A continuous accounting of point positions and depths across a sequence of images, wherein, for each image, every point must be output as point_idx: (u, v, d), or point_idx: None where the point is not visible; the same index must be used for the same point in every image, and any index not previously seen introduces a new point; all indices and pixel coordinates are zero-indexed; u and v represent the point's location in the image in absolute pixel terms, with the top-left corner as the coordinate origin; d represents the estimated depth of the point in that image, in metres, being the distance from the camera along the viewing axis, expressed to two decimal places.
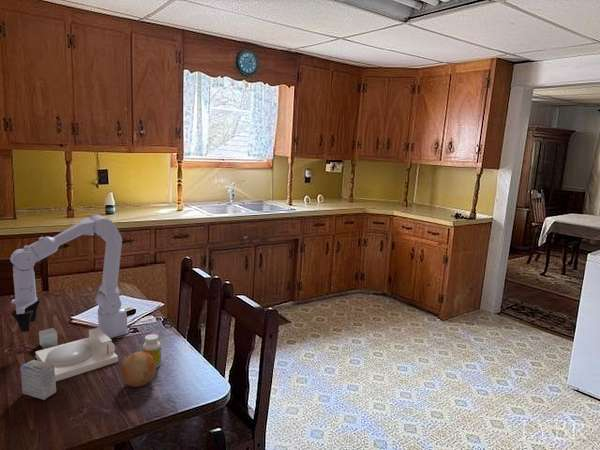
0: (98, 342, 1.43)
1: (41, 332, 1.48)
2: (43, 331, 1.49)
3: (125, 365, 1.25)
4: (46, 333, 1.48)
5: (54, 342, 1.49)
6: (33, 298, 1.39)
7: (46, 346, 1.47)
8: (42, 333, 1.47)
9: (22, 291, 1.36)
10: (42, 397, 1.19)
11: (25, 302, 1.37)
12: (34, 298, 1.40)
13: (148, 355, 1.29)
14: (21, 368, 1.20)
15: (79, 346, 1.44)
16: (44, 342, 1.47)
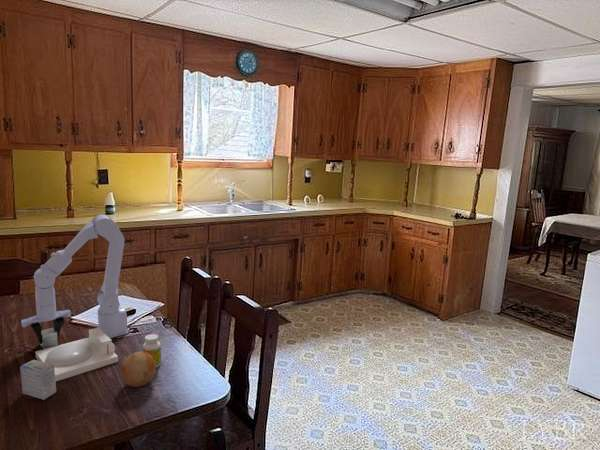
0: (98, 342, 1.43)
1: (41, 332, 1.48)
2: (43, 331, 1.49)
3: (125, 365, 1.25)
4: (46, 332, 1.48)
5: (54, 342, 1.49)
6: (43, 317, 1.45)
7: (46, 346, 1.47)
8: (42, 333, 1.47)
9: (36, 307, 1.45)
10: (42, 397, 1.19)
11: (37, 317, 1.45)
12: (45, 317, 1.45)
13: (148, 355, 1.29)
14: (21, 368, 1.20)
15: (79, 346, 1.44)
16: (44, 342, 1.47)
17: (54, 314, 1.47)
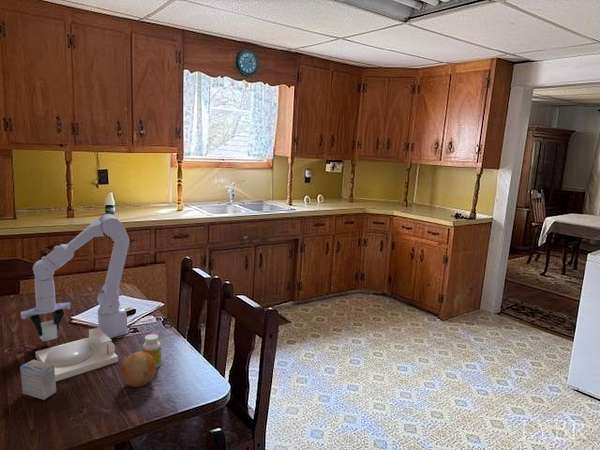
0: (98, 342, 1.43)
1: None
2: (43, 323, 1.48)
3: (125, 365, 1.25)
4: (46, 325, 1.47)
5: (53, 334, 1.48)
6: (43, 309, 1.44)
7: (46, 338, 1.47)
8: (42, 325, 1.47)
9: None
10: (42, 397, 1.19)
11: (37, 310, 1.45)
12: (44, 309, 1.44)
13: (148, 355, 1.29)
14: (21, 368, 1.20)
15: (79, 346, 1.44)
16: (44, 334, 1.46)
17: (54, 306, 1.47)
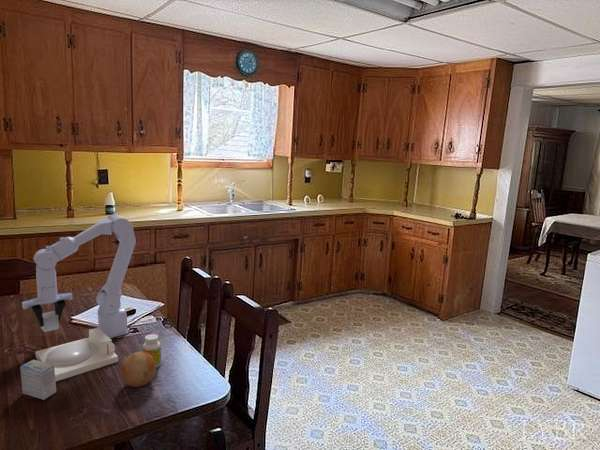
0: (98, 342, 1.43)
1: (42, 314, 1.46)
2: (44, 314, 1.46)
3: (125, 365, 1.25)
4: (47, 315, 1.45)
5: (55, 325, 1.46)
6: (44, 299, 1.42)
7: (47, 329, 1.45)
8: (43, 315, 1.45)
9: (37, 289, 1.42)
10: (42, 397, 1.19)
11: (38, 300, 1.43)
12: (46, 299, 1.43)
13: (148, 355, 1.29)
14: (21, 368, 1.20)
15: (79, 346, 1.44)
16: (45, 324, 1.44)
17: (55, 296, 1.45)
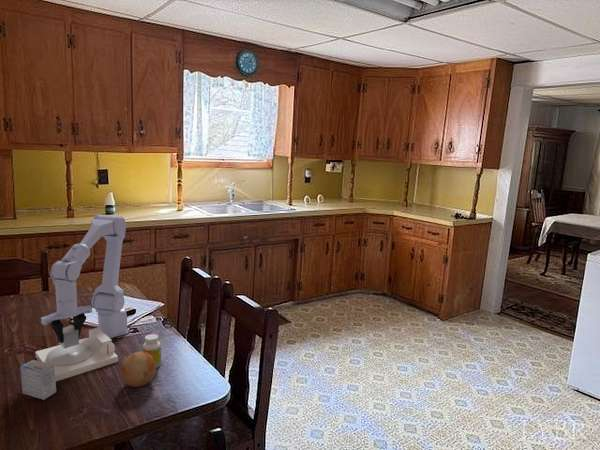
0: (98, 342, 1.43)
1: None
2: (63, 329, 1.38)
3: (125, 365, 1.25)
4: (67, 330, 1.37)
5: (75, 340, 1.38)
6: (65, 313, 1.34)
7: (67, 345, 1.36)
8: None
9: (57, 303, 1.34)
10: (42, 397, 1.19)
11: (58, 314, 1.34)
12: (67, 313, 1.34)
13: (148, 355, 1.29)
14: (21, 368, 1.20)
15: (79, 346, 1.44)
16: (65, 340, 1.36)
17: (76, 310, 1.37)
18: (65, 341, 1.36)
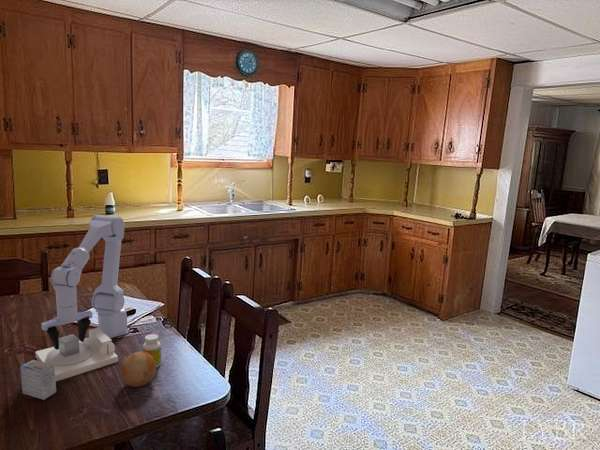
0: (98, 342, 1.43)
1: (61, 339, 1.38)
2: (63, 338, 1.38)
3: (125, 365, 1.25)
4: (67, 339, 1.38)
5: (76, 349, 1.39)
6: (66, 319, 1.34)
7: (68, 354, 1.37)
8: (63, 340, 1.37)
9: (57, 308, 1.34)
10: (42, 397, 1.19)
11: (58, 320, 1.34)
12: (67, 319, 1.34)
13: (148, 355, 1.29)
14: (21, 368, 1.20)
15: (79, 346, 1.44)
16: (66, 349, 1.36)
17: (76, 315, 1.37)
18: (66, 350, 1.36)
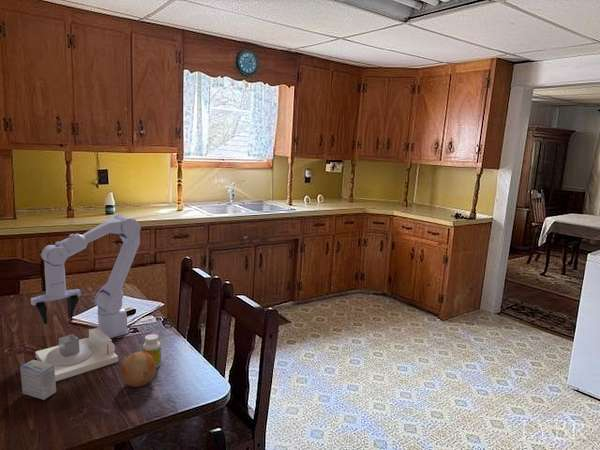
0: (98, 342, 1.43)
1: (61, 339, 1.38)
2: (63, 338, 1.38)
3: (125, 365, 1.25)
4: (67, 339, 1.38)
5: (76, 349, 1.39)
6: (53, 295, 1.41)
7: (68, 354, 1.37)
8: (63, 340, 1.37)
9: (46, 285, 1.41)
10: (42, 397, 1.19)
11: (47, 296, 1.41)
12: (55, 295, 1.41)
13: (148, 355, 1.29)
14: (21, 368, 1.20)
15: (79, 346, 1.44)
16: (66, 349, 1.36)
17: (64, 292, 1.43)
18: (66, 350, 1.36)
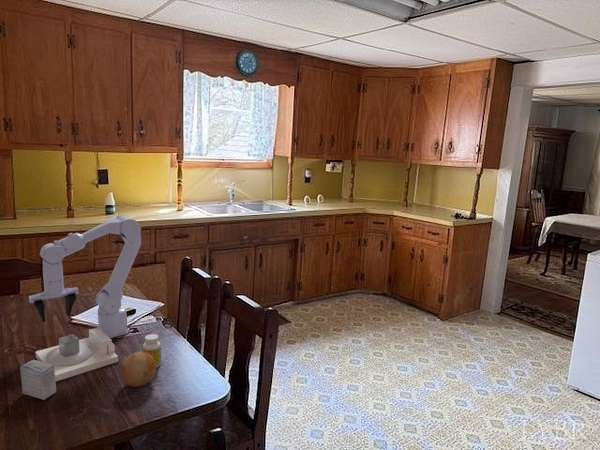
0: (98, 342, 1.43)
1: (61, 339, 1.38)
2: (63, 338, 1.38)
3: (125, 365, 1.25)
4: (67, 339, 1.38)
5: (76, 349, 1.39)
6: (51, 293, 1.42)
7: (68, 354, 1.37)
8: (63, 340, 1.37)
9: (44, 283, 1.42)
10: (42, 397, 1.19)
11: (45, 294, 1.43)
12: (53, 293, 1.43)
13: (148, 355, 1.29)
14: (21, 368, 1.20)
15: (79, 346, 1.44)
16: (66, 349, 1.36)
17: (62, 291, 1.45)
18: (66, 350, 1.36)
